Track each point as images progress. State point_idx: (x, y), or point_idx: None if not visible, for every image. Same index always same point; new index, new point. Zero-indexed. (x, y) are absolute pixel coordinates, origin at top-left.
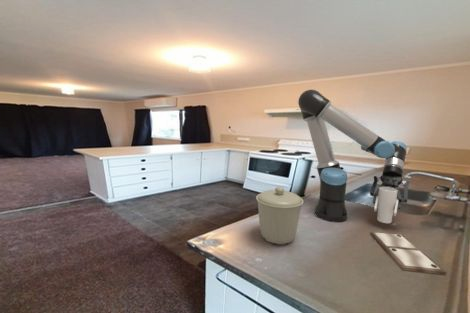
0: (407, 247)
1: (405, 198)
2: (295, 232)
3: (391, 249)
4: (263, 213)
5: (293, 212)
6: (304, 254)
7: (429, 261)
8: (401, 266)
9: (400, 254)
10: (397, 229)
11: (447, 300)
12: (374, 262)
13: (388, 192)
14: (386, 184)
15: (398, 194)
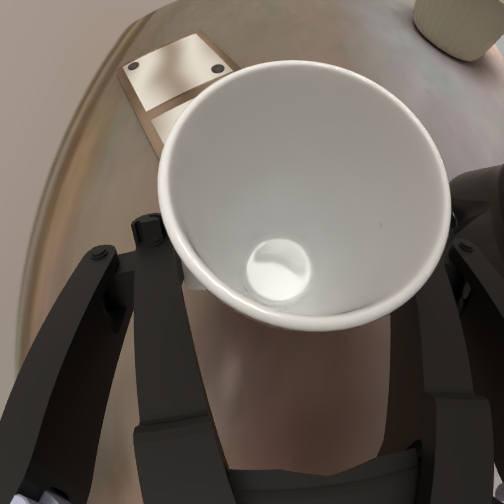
0: (178, 106)
1: (100, 250)
2: (420, 12)
3: (225, 68)
4: None
5: None
6: (373, 10)
7: (136, 77)
8: (203, 33)
9: (202, 61)
10: (209, 303)
11: (145, 21)
12: (258, 29)
13: (285, 75)
14: (395, 460)
15: (161, 282)
